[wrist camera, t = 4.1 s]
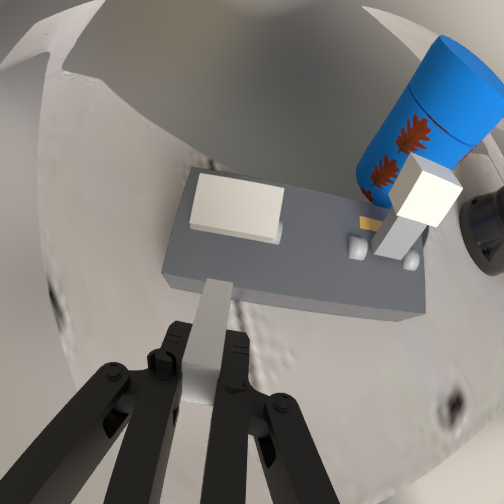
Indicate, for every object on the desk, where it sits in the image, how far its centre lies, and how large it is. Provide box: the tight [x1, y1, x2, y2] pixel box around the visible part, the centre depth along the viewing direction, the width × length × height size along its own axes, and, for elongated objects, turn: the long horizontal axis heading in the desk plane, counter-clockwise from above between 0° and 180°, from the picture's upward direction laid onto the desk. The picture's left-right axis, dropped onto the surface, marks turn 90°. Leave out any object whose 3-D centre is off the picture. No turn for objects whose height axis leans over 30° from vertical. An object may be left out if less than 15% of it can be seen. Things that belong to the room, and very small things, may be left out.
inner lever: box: [371, 152, 463, 260], centre depth 24 cm, size 5×3×11 cm, turn 81°
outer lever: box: [189, 173, 284, 242], centre depth 22 cm, size 5×3×11 cm, turn 81°
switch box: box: [161, 167, 426, 322], centre depth 30 cm, size 28×12×7 cm, turn 81°
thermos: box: [356, 35, 504, 209], centre depth 28 cm, size 11×11×25 cm
